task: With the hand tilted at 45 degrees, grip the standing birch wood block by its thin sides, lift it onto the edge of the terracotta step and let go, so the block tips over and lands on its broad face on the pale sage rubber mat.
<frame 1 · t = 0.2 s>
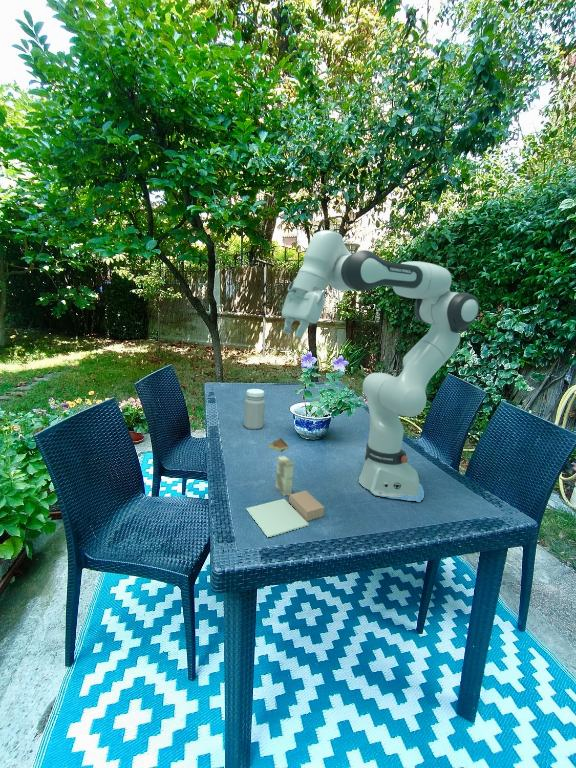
hand: (291, 335, 99), 52 cm above the table, tool tilted 20°, fingers open, 8 cm apart
rubber mat: (276, 517, 101), on the table
jar: (253, 427, 171), on the table
shard: (276, 447, 151), on the table
birch block: (283, 490, 116), on the table
terracotta step: (305, 509, 106), on the table
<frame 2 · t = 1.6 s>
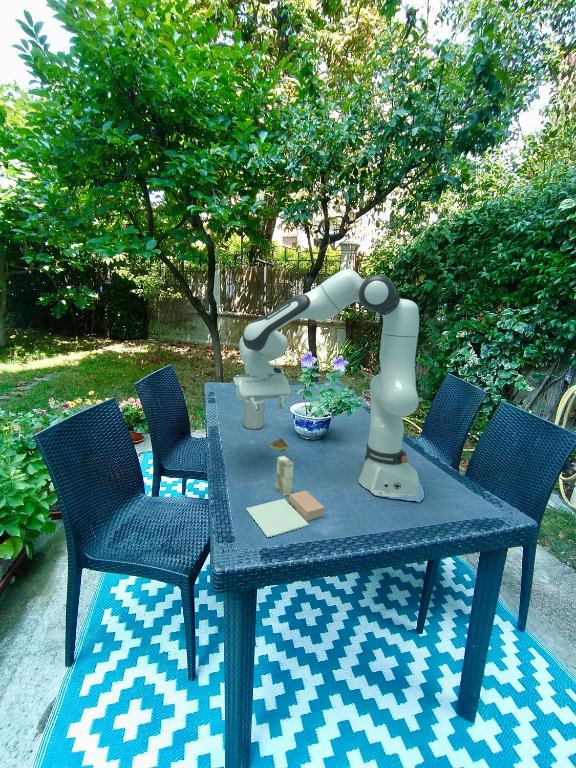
hand: (269, 409, 120), 25 cm above the table, tool tilted 45°, fingers open, 8 cm apart
nothing on the table moved.
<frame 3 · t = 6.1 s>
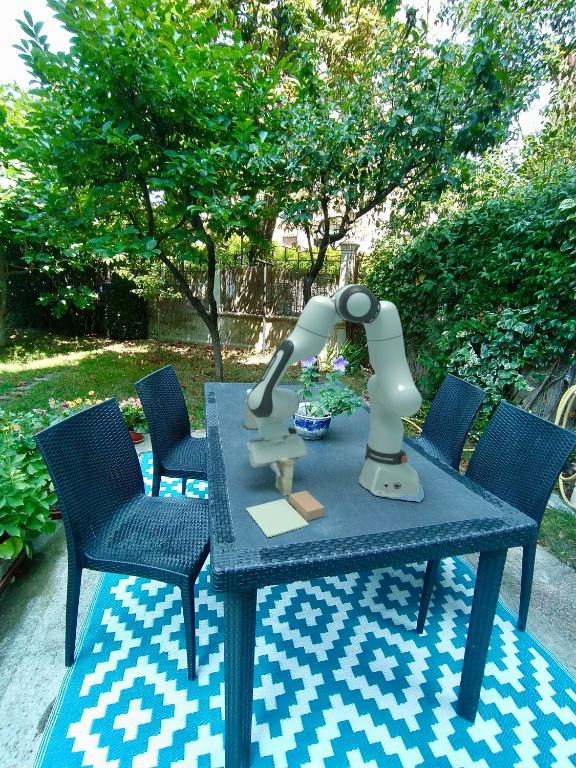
hand: (285, 475, 114), 6 cm above the table, tool tilted 45°, fingers closed on birch block, 2 cm apart
birch block: (283, 490, 116), on the table, touching gripper
everything else where it was.
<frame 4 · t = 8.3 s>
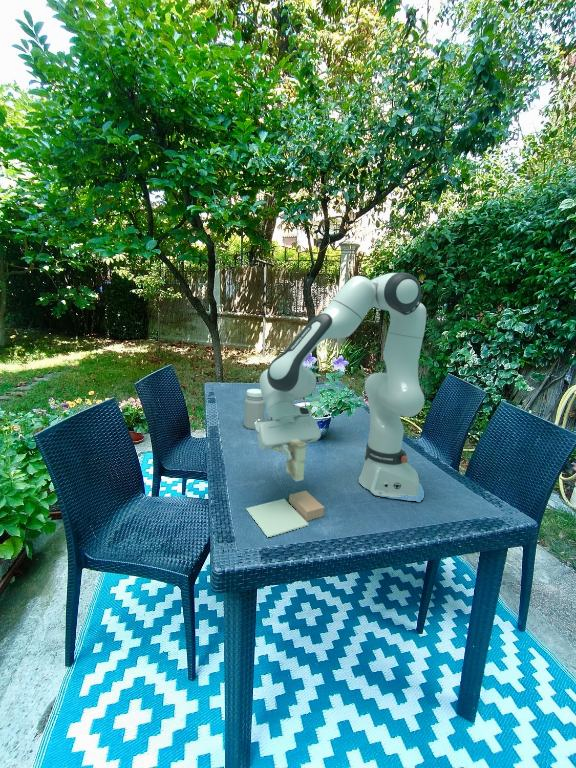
hand: (297, 458, 103), 16 cm above the table, tool tilted 45°, fingers closed on birch block, 2 cm apart
birch block: (294, 475, 105), point 10 cm above the table, touching gripper
everything else where it was.
when the fingers open (10 cm above the table, at t = 10.7 s): birch block drops 1 cm, resting on terracotta step.
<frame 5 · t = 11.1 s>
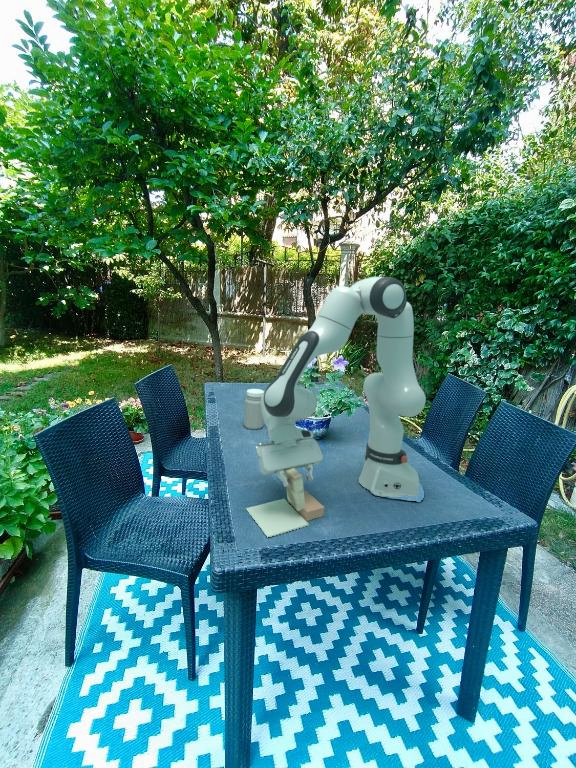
hand: (299, 483, 102), 10 cm above the table, tool tilted 45°, fingers open, 6 cm apart
birch block: (296, 503, 104), point 3 cm above the table, tilted 11°, touching gripper, terracotta step
everything else where it was.
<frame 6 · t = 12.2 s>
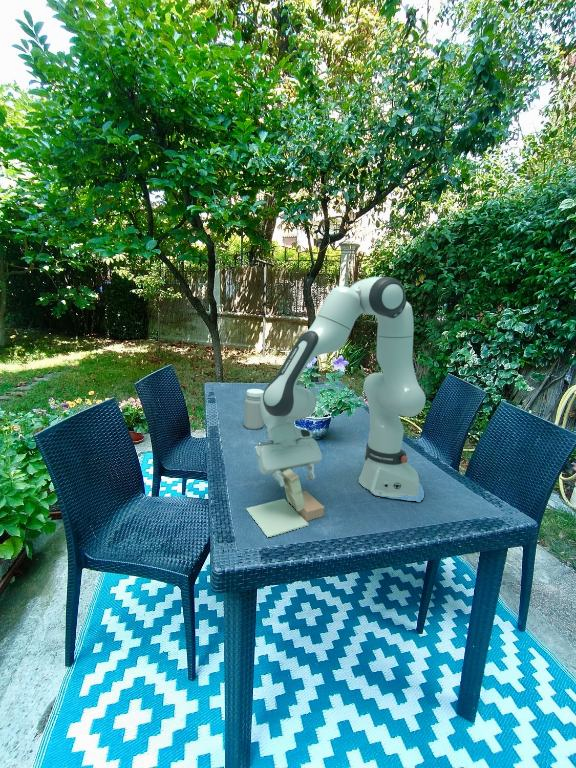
hand: (298, 482, 102), 10 cm above the table, tool tilted 45°, fingers open, 8 cm apart
birch block: (296, 504, 104), point 3 cm above the table, tilted 17°, touching gripper, terracotta step
everything else where it was.
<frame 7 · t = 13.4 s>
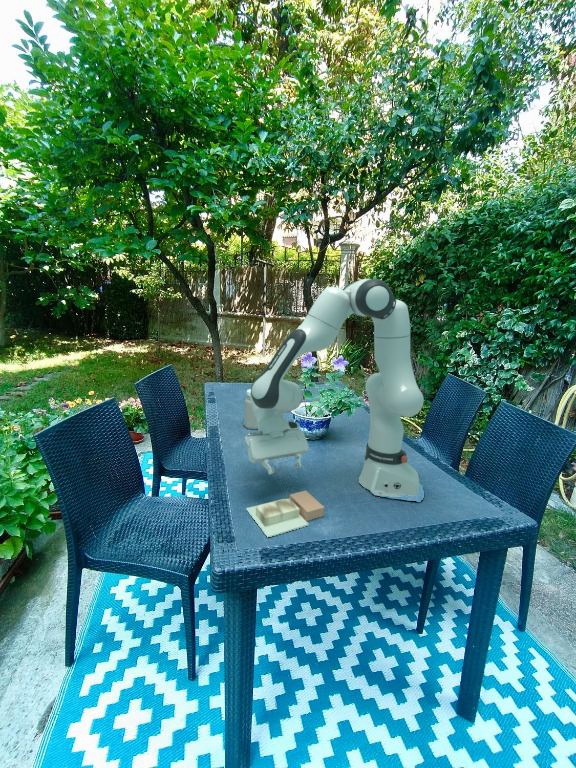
hand: (285, 471, 108), 10 cm above the table, tool tilted 45°, fingers open, 8 cm apart
birch block: (294, 507, 104), point 2 cm above the table, tilted 90°, touching rubber mat
everything else where it was.
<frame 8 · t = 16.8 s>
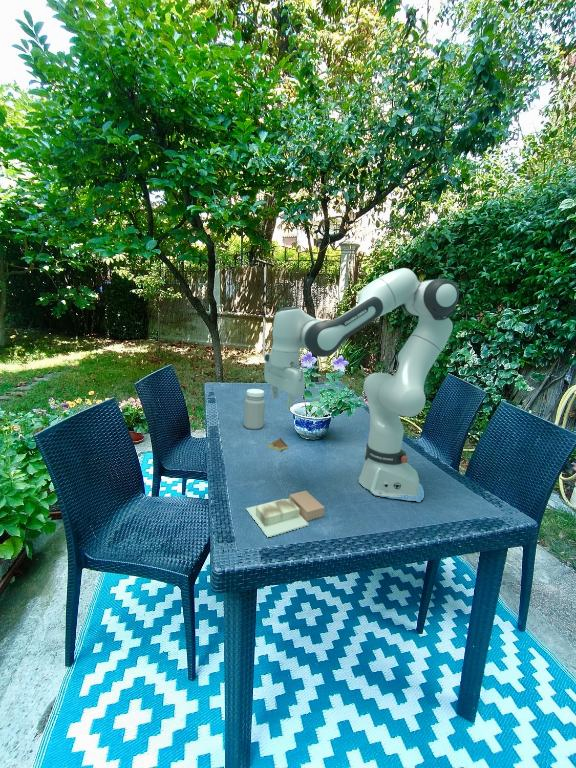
hand: (281, 402, 113), 29 cm above the table, tool pointing down, fingers open, 8 cm apart
nothing on the table moved.
at the end: birch block tilted 90°; birch block inside the target area on the rubber mat (5.9 cm from its centre), point 1.8 cm above the rubber mat's base; the gripper is holding nothing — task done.
